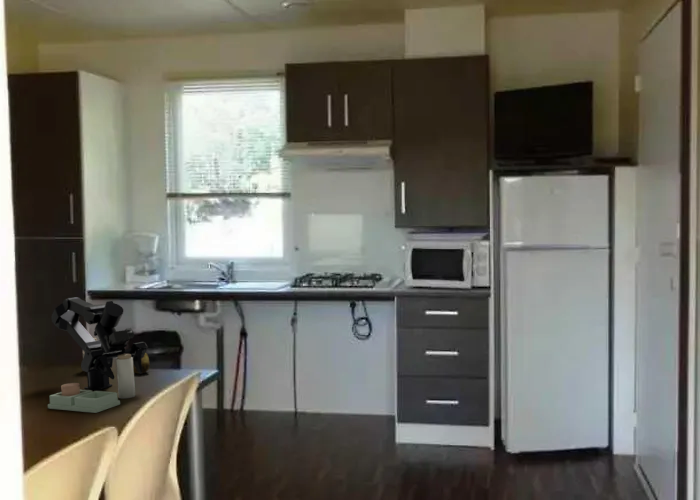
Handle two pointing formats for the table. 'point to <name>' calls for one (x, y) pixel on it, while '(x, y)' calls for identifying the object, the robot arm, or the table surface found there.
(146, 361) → the potato
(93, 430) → the table surface
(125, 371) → the spice jar
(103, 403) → the spice stand
